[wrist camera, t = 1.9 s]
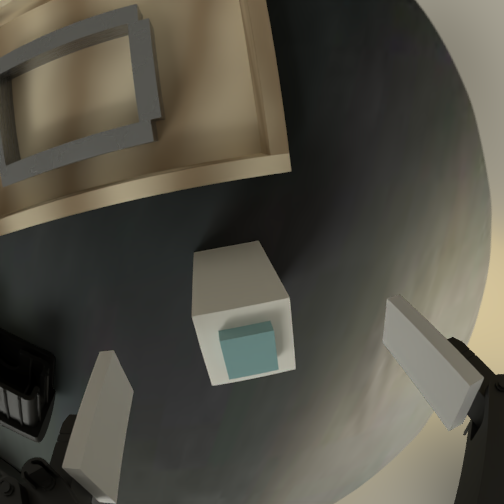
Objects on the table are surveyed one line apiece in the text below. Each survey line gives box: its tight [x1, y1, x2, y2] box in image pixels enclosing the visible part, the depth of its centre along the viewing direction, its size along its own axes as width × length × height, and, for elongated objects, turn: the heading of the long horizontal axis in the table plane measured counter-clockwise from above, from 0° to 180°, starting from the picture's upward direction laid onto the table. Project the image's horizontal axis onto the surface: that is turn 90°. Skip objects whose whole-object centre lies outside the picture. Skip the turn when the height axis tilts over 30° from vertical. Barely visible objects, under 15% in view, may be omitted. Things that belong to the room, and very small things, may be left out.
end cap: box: [0, 328, 56, 442], centre depth 19 cm, size 10×7×7 cm
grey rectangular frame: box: [0, 4, 166, 187], centre depth 14 cm, size 11×8×2 cm
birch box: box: [0, 0, 291, 236], centre depth 14 cm, size 24×16×4 cm, turn 98°
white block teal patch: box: [192, 241, 296, 386], centre depth 18 cm, size 4×4×9 cm
